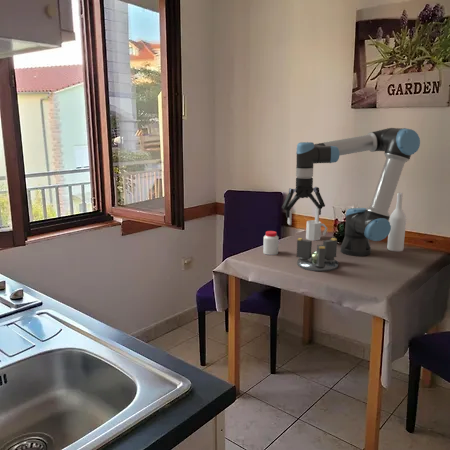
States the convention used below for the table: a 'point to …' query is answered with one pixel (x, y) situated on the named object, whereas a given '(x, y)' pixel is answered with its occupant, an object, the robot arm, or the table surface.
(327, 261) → the plate
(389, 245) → the bottle
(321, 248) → the leg
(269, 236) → the pill bottle
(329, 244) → the knob
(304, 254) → the knob
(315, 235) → the mug
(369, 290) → the table surface
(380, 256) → the table surface
